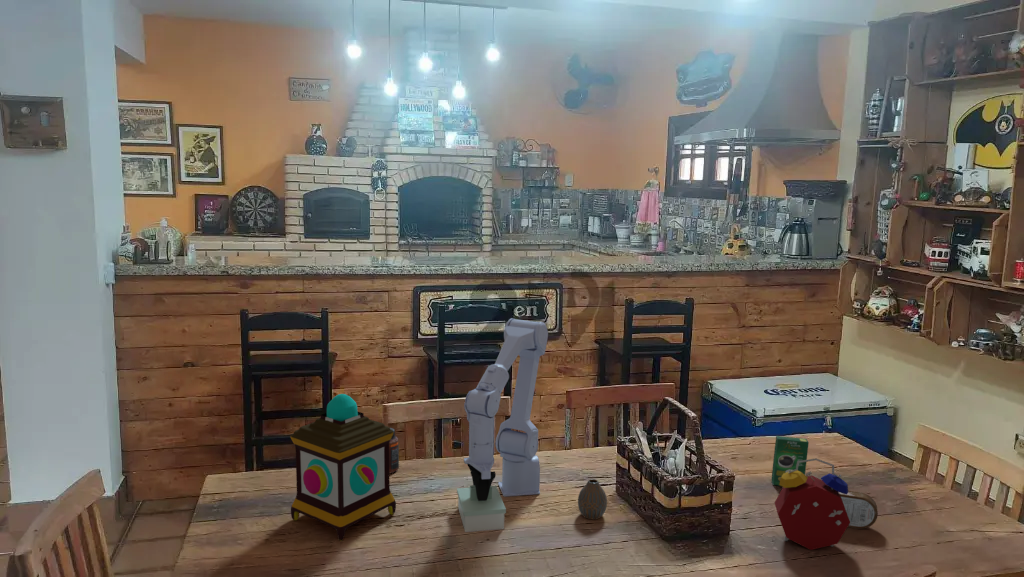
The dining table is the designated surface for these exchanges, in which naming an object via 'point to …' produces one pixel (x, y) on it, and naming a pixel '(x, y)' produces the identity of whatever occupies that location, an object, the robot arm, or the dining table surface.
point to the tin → (859, 509)
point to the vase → (592, 500)
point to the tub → (481, 521)
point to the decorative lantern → (342, 467)
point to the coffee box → (788, 456)
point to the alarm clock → (812, 508)
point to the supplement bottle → (393, 453)
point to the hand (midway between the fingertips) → (480, 495)
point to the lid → (480, 502)
